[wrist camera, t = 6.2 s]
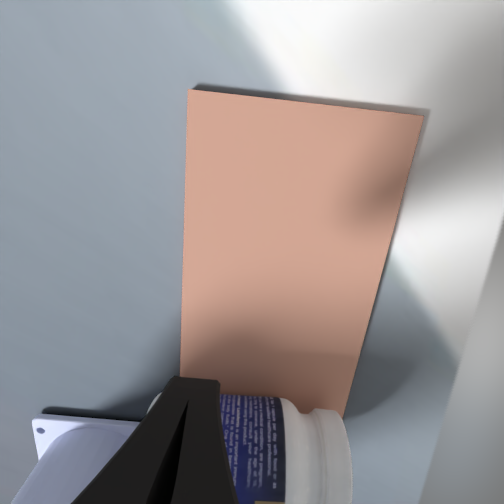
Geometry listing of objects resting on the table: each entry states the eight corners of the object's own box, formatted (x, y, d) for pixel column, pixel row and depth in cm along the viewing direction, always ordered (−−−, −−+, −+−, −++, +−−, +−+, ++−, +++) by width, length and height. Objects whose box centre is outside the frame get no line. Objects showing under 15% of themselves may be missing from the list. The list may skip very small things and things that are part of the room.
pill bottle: (114, 537, 12) (366, 548, 12) (146, 382, 15) (348, 391, 15) (149, 511, 17) (330, 519, 17) (168, 397, 20) (321, 404, 20)
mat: (337, 423, 20) (339, 429, 19) (180, 410, 19) (178, 415, 19) (419, 116, 14) (424, 115, 13) (189, 90, 13) (187, 89, 13)
